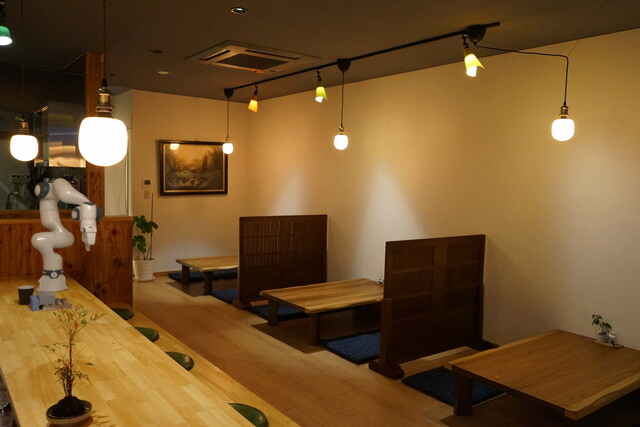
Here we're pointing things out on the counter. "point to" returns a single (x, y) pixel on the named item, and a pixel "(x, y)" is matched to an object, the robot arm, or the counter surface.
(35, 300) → the stop block
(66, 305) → the roller bed
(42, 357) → the counter surface
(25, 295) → the coffee mug
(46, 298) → the slab
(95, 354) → the counter surface
